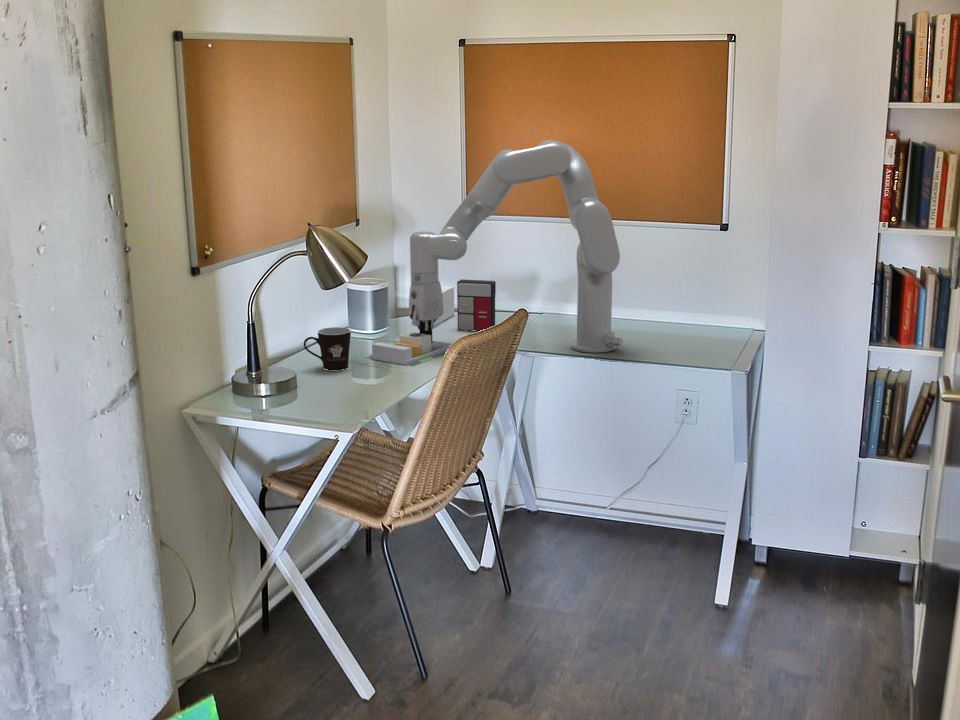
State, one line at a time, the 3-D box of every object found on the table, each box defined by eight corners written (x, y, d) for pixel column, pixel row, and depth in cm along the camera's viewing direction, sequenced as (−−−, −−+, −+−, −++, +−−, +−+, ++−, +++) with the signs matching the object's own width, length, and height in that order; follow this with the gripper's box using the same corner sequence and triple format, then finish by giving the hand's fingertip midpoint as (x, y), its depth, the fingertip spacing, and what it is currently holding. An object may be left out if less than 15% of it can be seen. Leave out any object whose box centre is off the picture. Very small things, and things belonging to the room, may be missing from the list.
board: (421, 343, 307) (421, 325, 306) (467, 350, 299) (467, 332, 297) (365, 362, 287) (364, 343, 286) (412, 370, 279) (412, 351, 277)
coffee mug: (356, 364, 285) (355, 327, 282) (346, 373, 277) (344, 335, 274) (315, 362, 287) (313, 326, 285) (303, 371, 279) (301, 333, 277)
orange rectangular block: (398, 352, 292) (398, 341, 292) (421, 356, 288) (421, 345, 287) (393, 354, 291) (393, 343, 290) (417, 358, 286) (417, 347, 286)
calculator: (456, 331, 322) (456, 281, 318) (461, 327, 326) (460, 279, 322) (491, 333, 319) (491, 283, 315) (495, 330, 323) (495, 280, 319)
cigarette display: (438, 314, 345) (437, 285, 343) (454, 315, 343) (454, 286, 341) (415, 327, 327) (414, 297, 324) (432, 329, 325) (431, 298, 323)
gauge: (411, 347, 296) (410, 330, 295) (431, 351, 292) (431, 334, 291) (399, 351, 292) (399, 334, 291) (420, 355, 288) (419, 337, 287)
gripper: (418, 283, 283) (420, 351, 288) (452, 274, 295) (453, 339, 299) (396, 280, 287) (398, 347, 292) (430, 272, 299) (431, 336, 304)
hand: (426, 343), depth 296 cm, fingers closed
